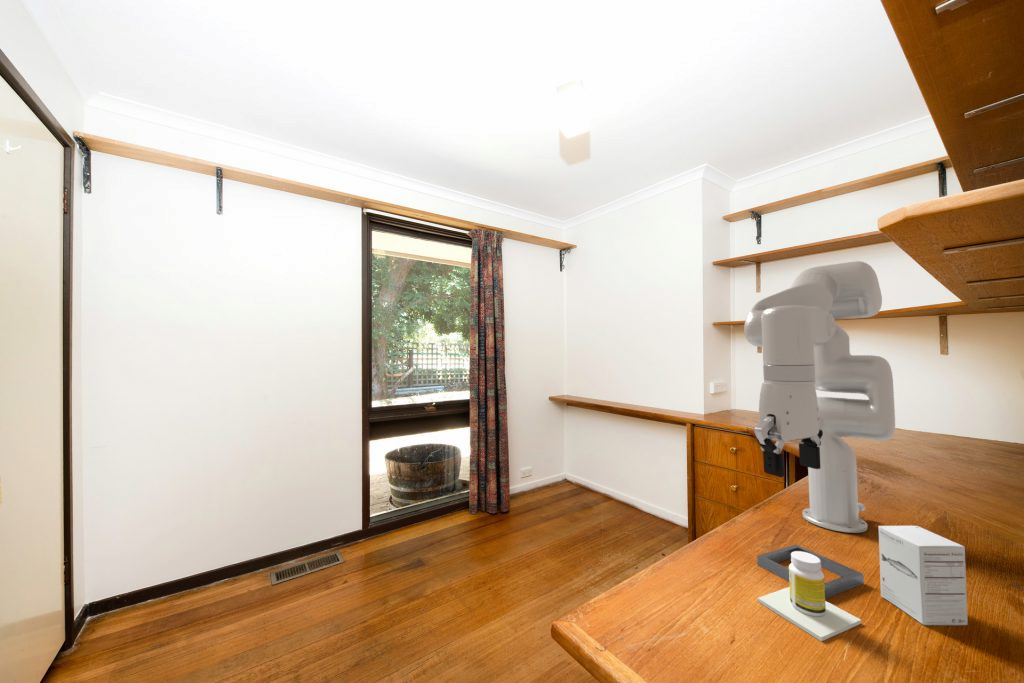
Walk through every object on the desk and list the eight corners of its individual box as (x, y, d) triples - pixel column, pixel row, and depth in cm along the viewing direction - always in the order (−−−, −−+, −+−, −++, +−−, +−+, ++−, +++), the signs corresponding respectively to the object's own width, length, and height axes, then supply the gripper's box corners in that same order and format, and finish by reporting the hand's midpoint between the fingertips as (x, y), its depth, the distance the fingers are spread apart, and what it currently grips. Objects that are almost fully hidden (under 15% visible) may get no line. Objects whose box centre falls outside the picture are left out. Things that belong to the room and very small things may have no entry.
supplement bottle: (833, 617, 61) (831, 564, 62) (804, 617, 62) (802, 564, 62) (810, 598, 66) (808, 549, 67) (783, 598, 66) (781, 549, 67)
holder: (796, 552, 82) (795, 544, 82) (863, 583, 71) (863, 574, 71) (757, 564, 78) (757, 555, 78) (823, 599, 67) (822, 589, 67)
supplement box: (878, 596, 67) (875, 524, 68) (921, 596, 67) (918, 524, 68) (922, 626, 60) (918, 545, 60) (971, 626, 60) (966, 545, 60)
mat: (795, 587, 70) (795, 584, 70) (861, 623, 61) (861, 619, 61) (757, 601, 67) (757, 597, 67) (821, 641, 57) (821, 637, 57)
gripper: (797, 371, 75) (801, 459, 74) (735, 376, 68) (738, 471, 68) (842, 373, 68) (846, 470, 67) (777, 378, 61) (782, 485, 61)
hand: (792, 470), depth 68 cm, fingers open, 9 cm apart
